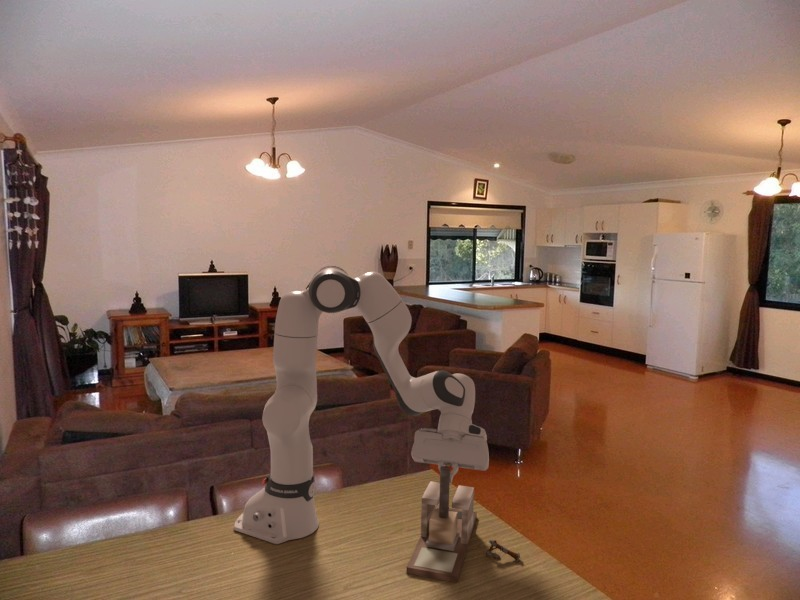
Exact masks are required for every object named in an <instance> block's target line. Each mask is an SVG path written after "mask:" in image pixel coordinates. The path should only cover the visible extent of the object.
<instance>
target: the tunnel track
mask: <svg viewBox="0 0 800 600" xmlns="http://www.w3.org/2000/svg"><path fill="white" fill-rule="evenodd" d="M439 499H440V481H439V482H437V481H431V480H430V482H429V483H428V485H427V487H426V489H425V490H424V492H423V494H422V497H421V509H420V511H421V513H420V515H421V516H420V517H421V518H420V538H419V539H418V542H417V544H416V546H415V548H414V550H413V553H412V555H411V557H410V559H409V561H408V564H407V565H406V572H405V573H406V574H408V575H409V574H410V575H414V576H415V575H416V576H421V577H424V578H431V579H436V580H440V581H441V580H442V581H447V582H452V583H456V584H457V583H458V580H459V578H460V574H461V571H462V567H463V564H464V560H465V557H466V554H467V552H468V551H467V550H468V547H469V543H470V541H471V540H470V539H471V536H472V534H473V531H474V527H475V523H476V521H477V517H478V516H477V513H478V512H475V511H474V502H475V500H474V499H475V487H473V486H467V485H461V484H460V485H459V484H458V486H457V489H456V491H455V493H454V496H453V499H452V501H451V507H449V511H453V512H458V516H457V531H460V533H459V537H458V540H457V543H456V546H455V549H454V551H450V550H444V549H438V548H433V547H427V546H426V542H427V539H428V537H429V521H430V518H431V516H432V514H433V511H434V509H439Z"/></svg>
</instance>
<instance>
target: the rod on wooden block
mask: <svg viewBox="0 0 800 600" xmlns="http://www.w3.org/2000/svg"><path fill="white" fill-rule="evenodd" d="M450 472H451V467H450V466H443V467H441V468H440V470H439V483H440V499H439V504H438V507H439V509H434V511H433V514H432V516H431V518H430V521H429V537H428V539H427V542H426V546H427V547H433V548H438V549H444V550H450V551H454V549H455V546H456V543H457V540H458V537H459V533H460V531H457V516H458V512H453V511H449V508H450V484H451V483H450Z"/></svg>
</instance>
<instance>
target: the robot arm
mask: <svg viewBox="0 0 800 600" xmlns="http://www.w3.org/2000/svg"><path fill="white" fill-rule="evenodd" d="M354 308H355V309H356V310H357V311H358V312H359V313H360V314H361V316H362V317H363V319H364V320H365V322H366V324H367V325H368V327H369V328H370V330H371V333H372V337H373V339H372V346H373V350H374V353H375V354H376V357H377V359H378V361H379V362H380V366H381V367H382V369H383V370H384V371H383V372H385V375H386V377H387V379H388V380H389V383H390V384H391V387H392V390H393V391H394V394H395V397H396V398H395V399H396V401H397V403H398V406H399V407H400V409H401V410H402V411H403V412H404V413H405V414H407V415H409V416H412V417H417V416H420V415H422V414H425V413H427V412H429V411H434V410H438V411H440V415H439V420H438V424H437V425H438V426H437V428H427V427H421V428H419V429H417V430H416V431H415V432H414V437H413V439H414V442H413V445H412V448H411V452H410V454H411V457H412V459H413V461H414V462H415V463H422V464H423V463H424V464H432V465H437V466H438V470H439V471H440V468H441V467H443V466H447V467H452V470H450V484H452V483H453V478H454V477H455V475H456V474H457V473H458V472H459V468H461V469H468V470H469V469H470V470H476V471H487V470H488V469H489V464H490V456H489V446H488V442H487V440H488V438H487V437H488V435H487V432H486V429H484V428H483V427H481V426H478V425H476V424H473V421H472V415H473V413H474V409H475V404H476V386H475V385H476V384H475V381H474V380H473V379H472V378H471V377H470V376H468V375H467V374H464V373H456V372H455V373H453V374H452V373H451V372H449V371H448V370H444V369H441V370H435V371H433V372H430V373H427V374H424V375H421V376H418V377H414V376H412V375H411V374H410V372H409V370H408V368H407V366H406V365H405V363H404V361H403V359H402V357H401V355H400V352H399V347H400V344H401V342H402V341H403V340H405V338H406V337H407V335H408V334H409V331H410V330H411V327H412V322H413V321H412V319H413V318H412V314H411V313H410V310H409V307H408V306H407V305H406V303H405V302H404V300H403V298H402V297H401V295H399V293H398V291H397V290H396V289H395V288H394V286H393V285H392V284H391V283H390V282H389V281H388V280H387V278H385V276H384V275H382V274H381V273H380V272H378V271H368V272H367V271H366V272H365V273H362V274H360V275H359V276H357V277H352V276H351V275H349V274H348V273H347V271H345V270H344V269H343V268H341V267H340V266H336V265H328V266H325V267H322V268H320V270H318V271H317V272H316V273H315V274H314V275H313V277H312V278H311V280H310V282H309V283H308V285H307V286H306V287H305V289H303V290H292V291H288V292H286V293H284V294H283V295H282V296H281V297H280V300H279V303H278V307H277V312H276V316H275V323H274V334H273V335H274V337H273V351H272V354H273V355H272V363H273V366H274V372H275V379H276V381H275V382H276V388H275V390H274V391H275V392H274V394H272V396H271V397H269V399H268V400H267V402H266V403H265V405H264V409H263V412H262V416H261V417H262V425H263V426H264V427H263V428H264V429H265V430H266V433H267V439H268V443H269V449H270V472H269V473H268V474H267V475H266V476H265V478H264V479H263V480H262V481H261V483H262V484H261V486H264V485H265V486H264V487H263V488H261V489H260V490H259V491H257V492H256V493H255V494H254V495H252V496H251V497H250V498H249V499H248V500H247V502H246V503H245V505H244V509H243V512H242V513H241V514H240V515H239V516H238V517H237V519H235V522H234V526H233V530H234V531H236V532H239V533H242V534H245V535H247V536H251V537H254V538H257V539H259V540H263V541H266V542H269V543H272V544H273V545H279V544H282V543H284V542H287V541H291V540H298V539H302V538H305V537H308V536H310V535H312V534H313V533H314V532H315V531H317V530H318V528H319V525H320V521H319V519H318V516H317V512H316V506H315V505H316V504H315V497H314V496H315V489H316V486H315V473H314V468H313V467H314V450H313V449H314V448H313V443H312V441H311V437H310V428H309V427H310V426H309V425H310V424H309V423H310V418H311V415H312V413H313V412H314V410H315V409H316V407H317V402H318V383H317V382H318V379H317V367H316V366H317V364H316V363H317V351H318V350H317V349H318V334H319V332H318V331H319V320H320V317H321V315H322V314H323V313H325V314H326V313H327V314H335V313H341V312H343V311H346V310H350V309H354Z"/></svg>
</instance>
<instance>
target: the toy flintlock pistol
mask: <svg viewBox="0 0 800 600" xmlns="http://www.w3.org/2000/svg"><path fill="white" fill-rule="evenodd" d="M488 542H489V544H490V546H489V548H488V549H487V550H486V551H487V552H486V553H485V556H486V557H489V555H491V556H493V558H495V559H497V560H498V559H501V558H502V557H501V556H500V553H497V552H496V551H494V552H492V551H493V550H496V549H498V550H499V552H502V553H504V555H505V554H506V555H508V556H510V557H511V558H513V560H515V562H516V563H518V561H519V560H520V558H521V552H519V551H518V552H515V551H512V550H509V549H508V548H507V547H505V546H503V545H502V544H500V543H498V541H497V540H496V539H489V541H488Z"/></svg>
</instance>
